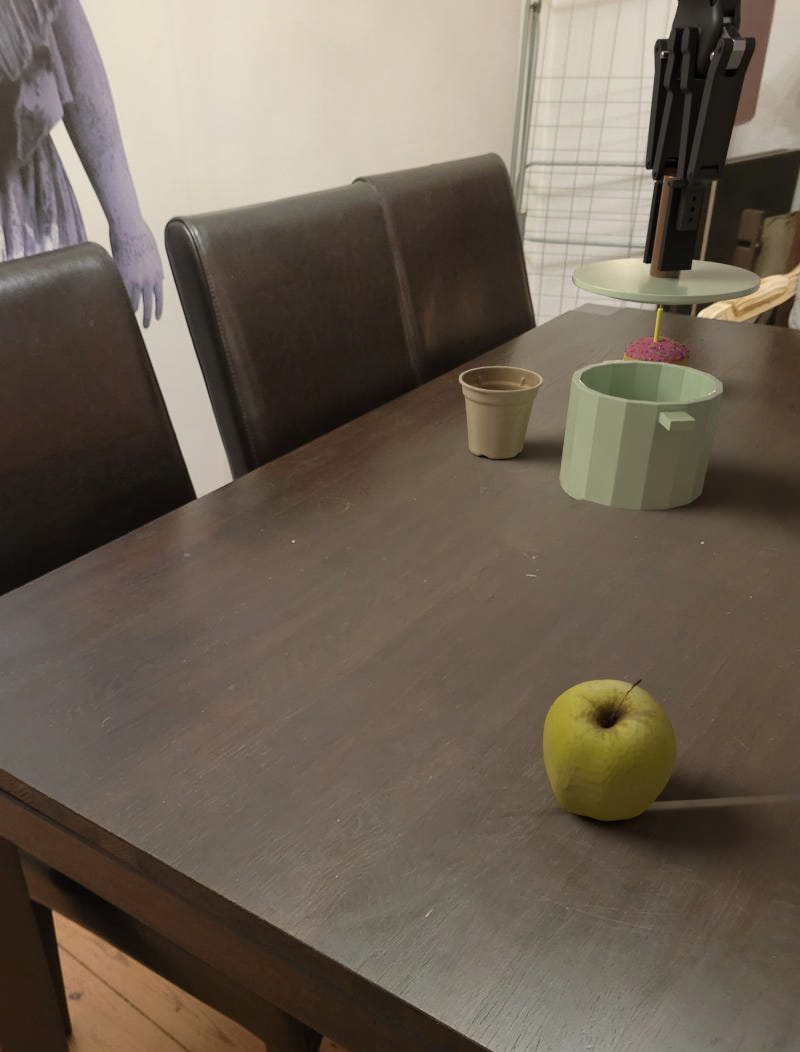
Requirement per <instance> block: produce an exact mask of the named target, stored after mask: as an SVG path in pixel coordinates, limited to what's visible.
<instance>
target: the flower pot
mask: <svg viewBox="0 0 800 1052" xmlns="http://www.w3.org/2000/svg"><path fill="white" fill-rule="evenodd" d="M458 382H459V384H460V385H461V387H462V394H463V396H464V401H465V402H464V403H465V413H466V425H467V438H468V450H469V451H470V452H471V453H472V454H474V455H476V456H478V457H480V456H485V457H487V458H488V459H491V460H502V459H511V458H515V457H516V456H517V455H518V454H520V453H522V451H523V449H524V443H525V439H526V435H527V432H528V431H527V430H528V427H529V422H530V419H531V413H532V409H533V405H534V403H535V402H534V401H535V399H536V398H537V396H538V394H539V389H540V388H541V387H542V386H543V385H544V378H543V377H542V375H540V373H537V372H535V371H533V370H530V369H526V368H522V367H517V366H506V365H505V366H504V365H503V366H502V365H494V366H493V365H492V366H491V365H489V366H481V367H476V368H471V369H469V370H466V371H463V372H461V373H460V374H459V376H458Z"/></svg>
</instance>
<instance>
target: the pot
mask: <svg viewBox="0 0 800 1052" xmlns="http://www.w3.org/2000/svg"><path fill="white" fill-rule="evenodd" d="M570 383H571V384H570V391H569V399H568V406H567V415H566V423H565V430H564V440H563V447H562V455H561V462H560V463H561V464H560V470H559V484H560V487H561V489H562V491H564V492H565V493H566V494H567V495H568V496H569V497H571V498H572V499H574V500H576V501H580V500H581V501H582V500H583V501H588V502H591V503H595V504H599V505H601V506H606V507H610V508H616V509H624V510H634V511H656V510H670V509H674V508H677V507H683V506H685V505H689V504H691V503H693V502H694V501H695V500H696V499H698V498H699V497H701V496H702V494H703V488H704V485H705V480H706V476H707V475H706V474H707V469H708V465H709V461H710V456H711V451H712V447H713V442H714V438H715V434H716V433H715V432H716V429H717V423H718V418H719V413H720V410H721V409H720V408H721V405H722V399H723V394H724V383H723V382H722V381H721V380H720V379H718V378H717V377H715V376H714V375H713V374H711V373H708V372H705V371H702V370H700V369H696V368H693V367H691V366H690V367H689V366H687V367H686V366H680V365H675V364H669V363H663V362H650V361H637V360H636V361H625V360H624V359H616V360H615V359H614V360H613V359H612V360H602V362H599V363H598V362H597V363H593V364H588V365H586V366H583V367H582V368H580V369H577V370H576V371H574V373H573V376H572V378H571V382H570Z"/></svg>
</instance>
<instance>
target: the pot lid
mask: <svg viewBox="0 0 800 1052" xmlns="http://www.w3.org/2000/svg"><path fill="white" fill-rule="evenodd" d="M676 179H677V173H672V174H666V175H664V180H663V186H662V193H661V200H660V206H659V213H658V220H657V226H656V233H655V240H654V246H653V253H652V260H651V264H645V263H643V258H644V257H636V258H635V257H633V258H618V259H610V260H602V261H596V262H595V261H594V262H592V263H588V264H584V265H581V266H579V267H577V268H575V269H574V270H573V271H572V275H571V276H572V277H571V283H572V284H573V285H575V286H576V287H577V288H579V289H581V290H583V291H585V292H588V293H591V294H595V295H599V296H603V297H607V298H608V297H609V298H611V299H614V300H619V301H625V302H630V303H637V304H649V305H660V304H661V305H662V306H664V305H666V306H688V305H702V304H709V303H716V302H725V301H731V300H736V299H741V298H745V297H748V296H751V295H753V294H756V292H758V291H759V289H760V288H761V283H762V279H761V277H760V276H759V275H758V274H756V273H755V272H753V271H751V270H748V269H745V268H743V267H738V266H735V265H730V264H725V263H720V262H714V261H706V260H700V259H699V260H697V259H693V262H692V268H691V270H680V271H659V270H657V268H658V261H659V255H660V248H661V242H662V235H663V229H664V222H665V216H666V209H667V203H668V196H669V190H670V188H668V184H667V181H668V180H676Z"/></svg>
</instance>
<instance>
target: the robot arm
mask: <svg viewBox="0 0 800 1052" xmlns="http://www.w3.org/2000/svg"><path fill="white" fill-rule="evenodd" d="M676 6H677V7H676V10H675V14H674V16H673V20H672V23H671V28H670V29H671V30H670V32H669V36H668V38H657V39H656V41H655V43H654V47H653V57H654V60H653V62H654V64H653V65H654V73H653V74H654V76H653V84H652V85H653V86H652V92H651V93H652V94H651V102H650V103H651V104H650V115H649V124H648V132H647V133H648V134H647V144H646V152H645V161H644V163H645V169H646V170H647V171H649V170H650V171H651V178H652V181H654V183H653V191H652V197H651V204H650V209H649V210H650V211H649V216H648V218H649V219H648V225H647V231H646V238H645V245H644V252H643V257H642V258H643V263H645V264H651V260H652V253H653V246H654V240H655V233H656V226H657V220H658V213H659V206H660V200H661V193H662V186H663V180H664V175H666V174H672V173H677V179H676V180H668V181H667V184H668V188H670V190H669V196H668V203H667V209H666V216H665V222H664V229H663V235H662V242H661V248H660V255H659V261H658V268H657V270H659V271H680V270H691V268H692V262H693V260H694V256H695V250H696V243H697V238H698V233H699V232H698V231H699V226H700V220H701V214H702V209H703V204H704V198H705V192H706V188H709V187H710V185H711V183H712V182H719V181H721V180H722V178H723V176H724V175H723V174H724V171H725V166H726V162H727V158H728V157H727V156H728V152H729V148H730V144H731V139H732V135H733V131H734V127H735V123H736V122H735V121H736V117H737V113H738V110H739V104H740V100H741V95H742V91H743V86H744V81H745V79H746V78H745V77H746V74H747V71H748V68H749V66H750V63H751V60H752V59H753V56H754V52H755V51H756V50H755V49H756V45H757V41H756V38H755V37H754V36H747V37H743V36H742V35H741V33H740V28H741V24H742V16H741V15H742V12H741V10H742V0H677V5H676Z"/></svg>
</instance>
